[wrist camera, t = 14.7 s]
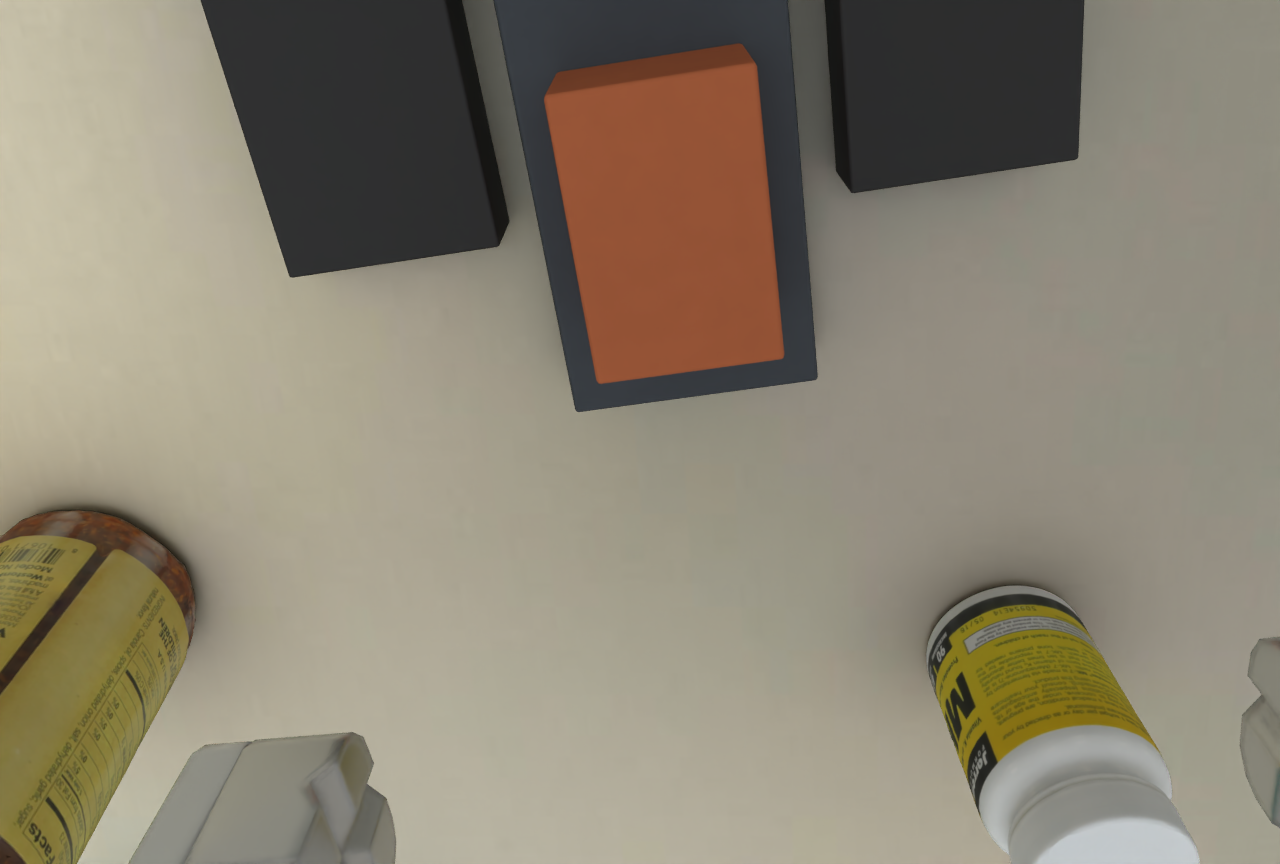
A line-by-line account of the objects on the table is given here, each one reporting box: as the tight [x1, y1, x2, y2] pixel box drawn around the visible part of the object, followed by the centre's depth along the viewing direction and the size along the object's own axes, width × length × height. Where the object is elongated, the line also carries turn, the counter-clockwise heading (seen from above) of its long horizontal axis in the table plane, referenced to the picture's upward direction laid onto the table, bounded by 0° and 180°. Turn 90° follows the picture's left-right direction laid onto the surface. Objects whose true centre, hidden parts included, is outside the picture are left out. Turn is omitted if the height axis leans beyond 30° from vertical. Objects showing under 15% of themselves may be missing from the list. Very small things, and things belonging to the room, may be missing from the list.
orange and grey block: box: [494, 0, 818, 412], centre depth 23 cm, size 6×10×5 cm, turn 9°
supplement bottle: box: [926, 586, 1200, 864], centre depth 27 cm, size 5×5×8 cm
